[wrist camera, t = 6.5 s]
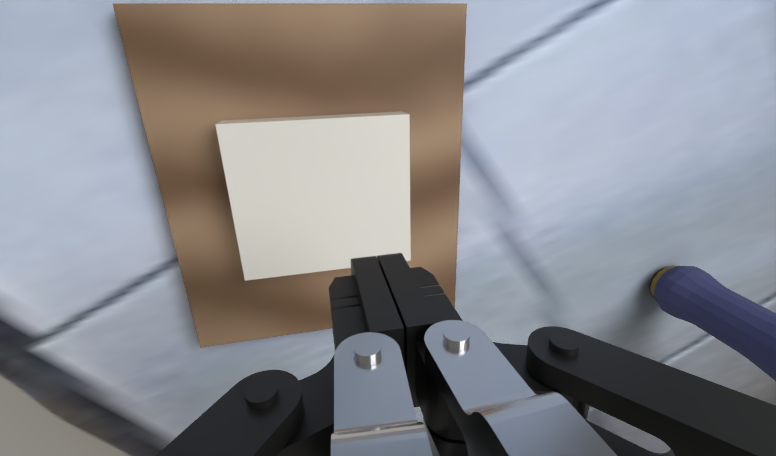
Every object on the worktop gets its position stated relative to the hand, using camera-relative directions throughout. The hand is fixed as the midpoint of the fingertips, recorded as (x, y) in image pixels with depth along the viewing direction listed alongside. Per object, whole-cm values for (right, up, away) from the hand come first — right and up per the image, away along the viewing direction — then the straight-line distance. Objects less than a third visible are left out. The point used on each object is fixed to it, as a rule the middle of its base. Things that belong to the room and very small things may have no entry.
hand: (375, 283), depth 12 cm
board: (-4, +4, +11) cm, 12 cm away
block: (+1, +4, +10) cm, 11 cm away
